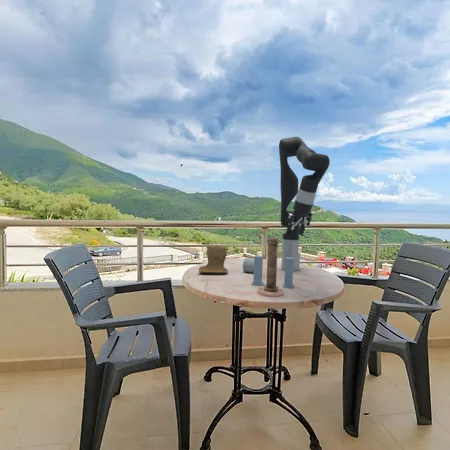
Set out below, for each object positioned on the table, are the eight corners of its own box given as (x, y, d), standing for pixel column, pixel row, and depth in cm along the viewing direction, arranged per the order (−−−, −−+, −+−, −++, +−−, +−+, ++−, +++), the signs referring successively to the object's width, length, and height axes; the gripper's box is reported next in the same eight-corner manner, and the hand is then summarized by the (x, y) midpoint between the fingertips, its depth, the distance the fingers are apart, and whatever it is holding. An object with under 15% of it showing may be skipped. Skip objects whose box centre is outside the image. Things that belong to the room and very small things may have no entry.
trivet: (273, 288, 143) (273, 285, 143) (289, 294, 134) (289, 292, 133) (252, 290, 138) (252, 288, 138) (267, 297, 129) (267, 295, 128)
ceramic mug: (256, 274, 169) (257, 260, 169) (242, 272, 173) (242, 258, 172) (263, 271, 179) (263, 257, 178) (249, 269, 182) (249, 255, 182)
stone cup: (227, 270, 177) (227, 243, 176) (228, 275, 165) (229, 246, 164) (199, 270, 177) (199, 242, 176) (198, 275, 165) (199, 245, 164)
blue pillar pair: (294, 285, 149) (295, 257, 148) (294, 288, 144) (295, 259, 143) (253, 282, 153) (253, 254, 152) (251, 284, 148) (252, 256, 147)
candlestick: (272, 287, 140) (274, 237, 138) (280, 291, 135) (282, 238, 133) (261, 289, 137) (263, 237, 135) (269, 293, 132) (271, 239, 130)
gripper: (308, 197, 143) (298, 230, 149) (286, 198, 134) (277, 233, 140) (321, 203, 138) (310, 237, 144) (300, 204, 129) (290, 241, 135)
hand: (294, 235), depth 142 cm, fingers open, 8 cm apart
